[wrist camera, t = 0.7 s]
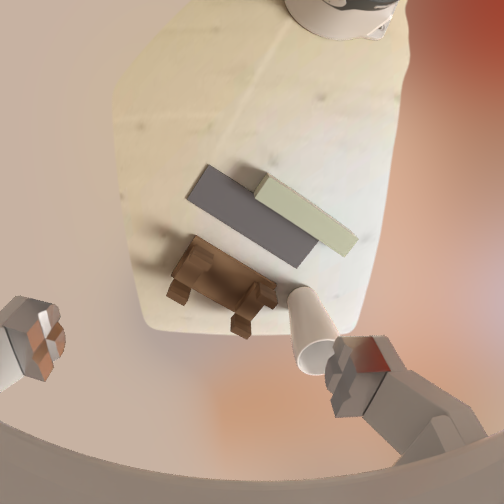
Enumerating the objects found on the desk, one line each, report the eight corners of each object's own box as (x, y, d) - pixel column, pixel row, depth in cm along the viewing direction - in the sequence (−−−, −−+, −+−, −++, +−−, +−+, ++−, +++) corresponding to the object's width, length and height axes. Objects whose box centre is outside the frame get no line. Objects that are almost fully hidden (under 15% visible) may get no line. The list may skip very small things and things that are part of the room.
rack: (196, 235, 46) (189, 251, 40) (276, 283, 50) (280, 305, 44) (171, 273, 49) (162, 294, 43) (248, 317, 52) (249, 340, 46)
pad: (209, 164, 42) (209, 165, 42) (319, 238, 47) (319, 239, 47) (187, 199, 44) (186, 199, 44) (296, 267, 49) (296, 268, 49)
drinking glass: (329, 298, 51) (355, 356, 38) (299, 321, 53) (315, 383, 39) (305, 273, 49) (327, 329, 36) (274, 299, 51) (285, 360, 37)
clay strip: (253, 191, 44) (254, 198, 41) (267, 172, 43) (269, 176, 40) (337, 247, 48) (344, 257, 45) (350, 230, 47) (358, 239, 43)
